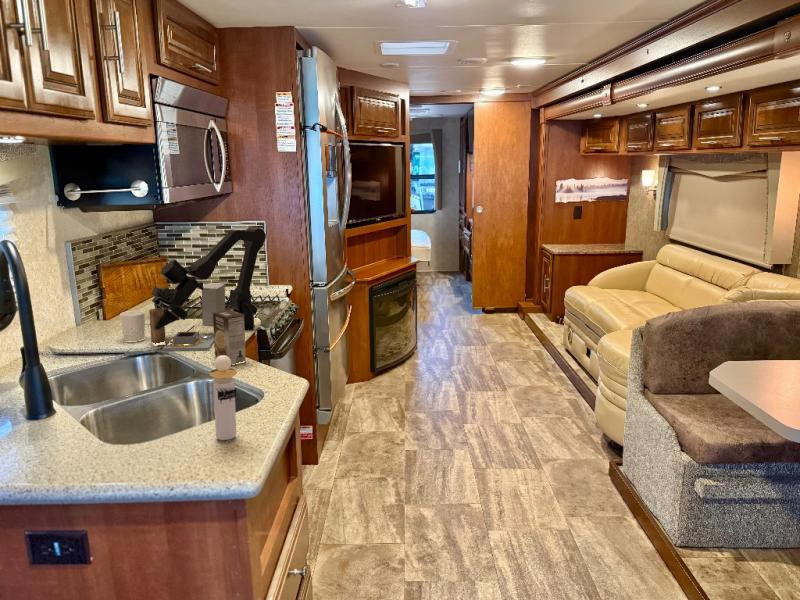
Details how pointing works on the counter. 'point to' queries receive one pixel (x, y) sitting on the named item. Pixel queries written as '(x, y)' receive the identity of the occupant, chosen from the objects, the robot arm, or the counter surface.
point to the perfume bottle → (224, 398)
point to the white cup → (133, 325)
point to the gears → (189, 339)
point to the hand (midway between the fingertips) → (153, 327)
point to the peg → (156, 334)
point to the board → (200, 347)
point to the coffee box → (229, 335)
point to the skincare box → (212, 301)
